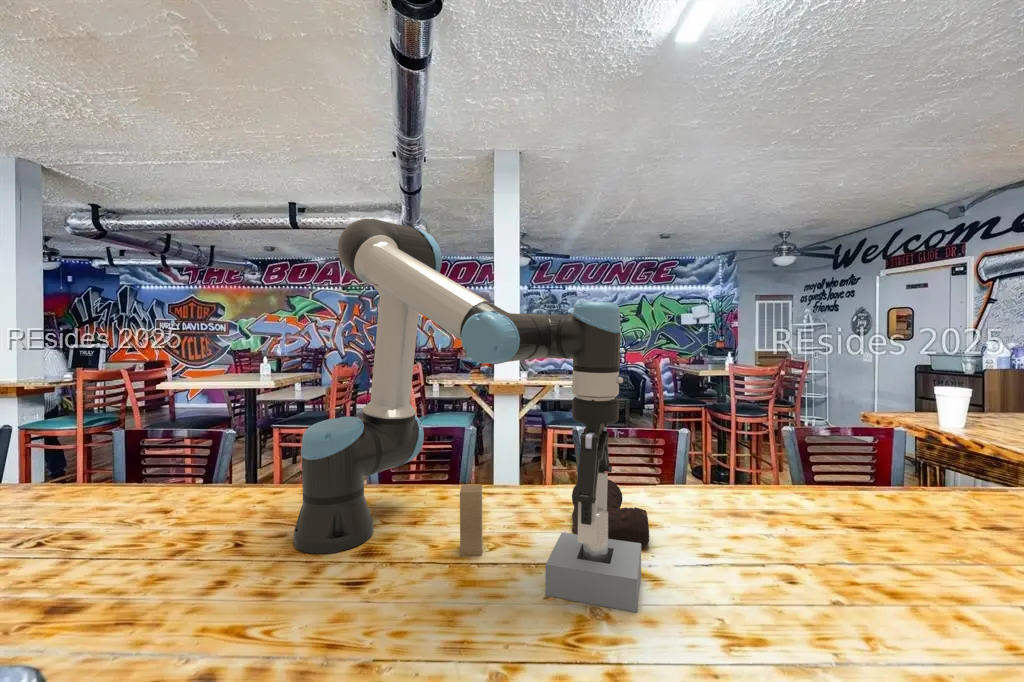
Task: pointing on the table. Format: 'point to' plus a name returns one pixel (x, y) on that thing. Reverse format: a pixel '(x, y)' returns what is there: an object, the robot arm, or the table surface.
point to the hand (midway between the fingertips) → (593, 524)
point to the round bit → (598, 540)
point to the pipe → (619, 518)
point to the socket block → (595, 574)
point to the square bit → (471, 520)
